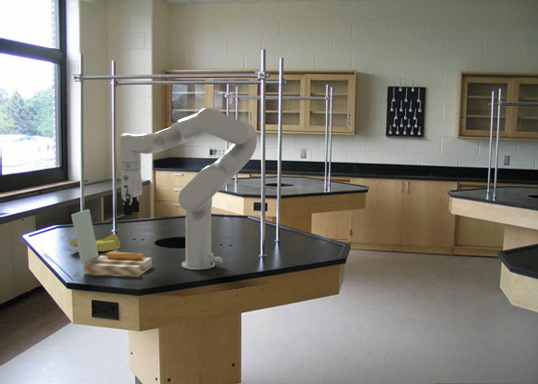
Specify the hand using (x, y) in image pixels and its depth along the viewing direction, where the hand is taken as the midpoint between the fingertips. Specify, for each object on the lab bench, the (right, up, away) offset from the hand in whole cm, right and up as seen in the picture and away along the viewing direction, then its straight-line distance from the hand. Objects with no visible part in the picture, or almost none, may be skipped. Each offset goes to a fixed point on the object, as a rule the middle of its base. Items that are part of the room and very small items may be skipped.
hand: (131, 213), depth 207 cm
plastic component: (-22, -17, +23) cm, 36 cm away
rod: (-1, -17, -5) cm, 18 cm away
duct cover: (-14, -8, -8) cm, 18 cm away
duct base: (-3, -21, -8) cm, 22 cm away
